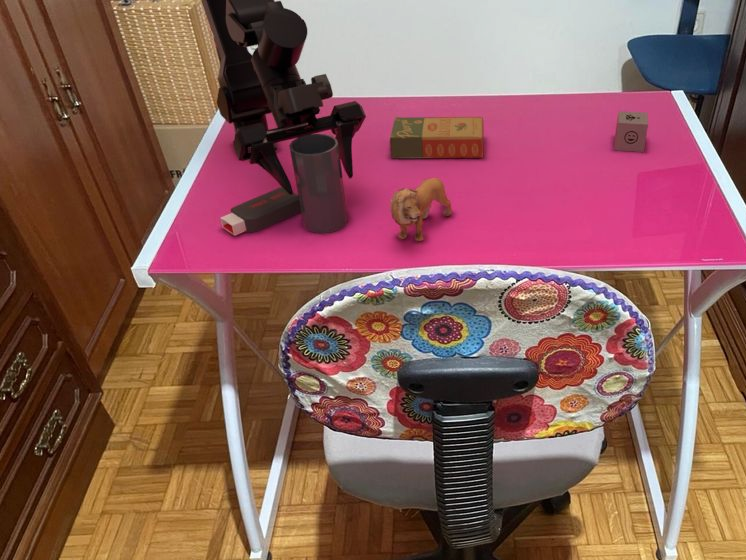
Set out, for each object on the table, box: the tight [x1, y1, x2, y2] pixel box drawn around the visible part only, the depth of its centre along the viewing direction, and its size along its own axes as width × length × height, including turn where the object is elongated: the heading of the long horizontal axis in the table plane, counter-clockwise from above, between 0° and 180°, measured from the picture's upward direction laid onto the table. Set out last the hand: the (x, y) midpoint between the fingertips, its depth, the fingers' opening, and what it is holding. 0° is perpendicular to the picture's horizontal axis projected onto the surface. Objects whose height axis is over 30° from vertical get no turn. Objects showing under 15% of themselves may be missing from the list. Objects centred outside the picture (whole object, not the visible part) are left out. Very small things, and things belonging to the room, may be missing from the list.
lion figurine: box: [390, 177, 452, 242], centre depth 105 cm, size 15×5×9 cm, turn 159°
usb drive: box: [219, 186, 301, 237], centre depth 109 cm, size 5×12×3 cm, turn 136°
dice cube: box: [614, 110, 649, 153], centre depth 127 cm, size 5×5×5 cm
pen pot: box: [288, 133, 349, 234], centre depth 105 cm, size 7×7×12 cm
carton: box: [389, 116, 484, 159], centre depth 126 cm, size 8×16×4 cm, turn 89°
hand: (322, 185), depth 104 cm, fingers open, 9 cm apart
